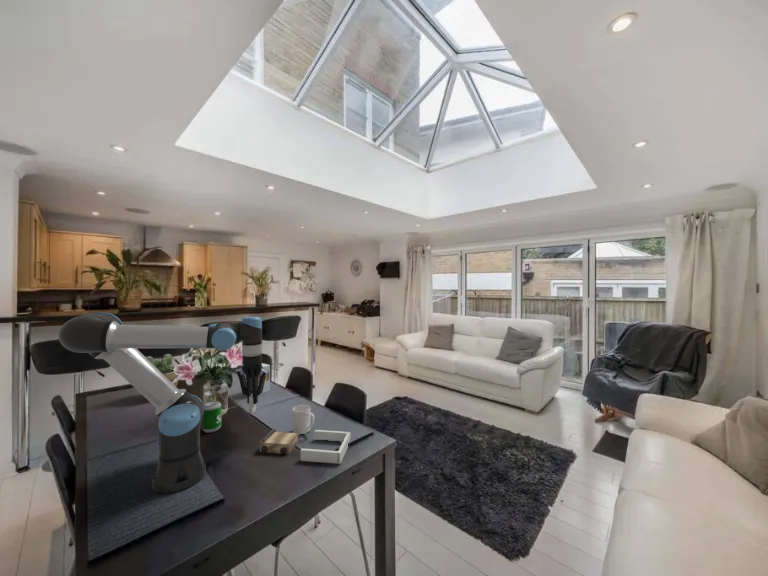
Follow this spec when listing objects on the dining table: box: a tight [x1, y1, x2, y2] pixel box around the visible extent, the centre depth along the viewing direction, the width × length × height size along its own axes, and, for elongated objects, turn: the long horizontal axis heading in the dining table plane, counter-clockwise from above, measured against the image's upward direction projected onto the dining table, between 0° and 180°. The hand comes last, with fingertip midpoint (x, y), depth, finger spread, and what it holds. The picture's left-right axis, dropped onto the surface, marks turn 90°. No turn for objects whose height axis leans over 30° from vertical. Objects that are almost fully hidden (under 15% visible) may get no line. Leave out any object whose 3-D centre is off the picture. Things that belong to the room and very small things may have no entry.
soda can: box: [201, 400, 222, 434], centre depth 140 cm, size 8×8×12 cm
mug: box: [291, 404, 316, 436], centre depth 138 cm, size 12×8×10 cm, turn 53°
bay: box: [300, 429, 352, 465], centre depth 123 cm, size 16×15×4 cm
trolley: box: [259, 428, 299, 455], centre depth 126 cm, size 12×10×5 cm
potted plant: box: [145, 353, 179, 388], centre depth 180 cm, size 18×19×25 cm
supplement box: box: [258, 362, 271, 393], centre depth 188 cm, size 10×9×17 cm
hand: (252, 411), depth 127 cm, fingers closed
